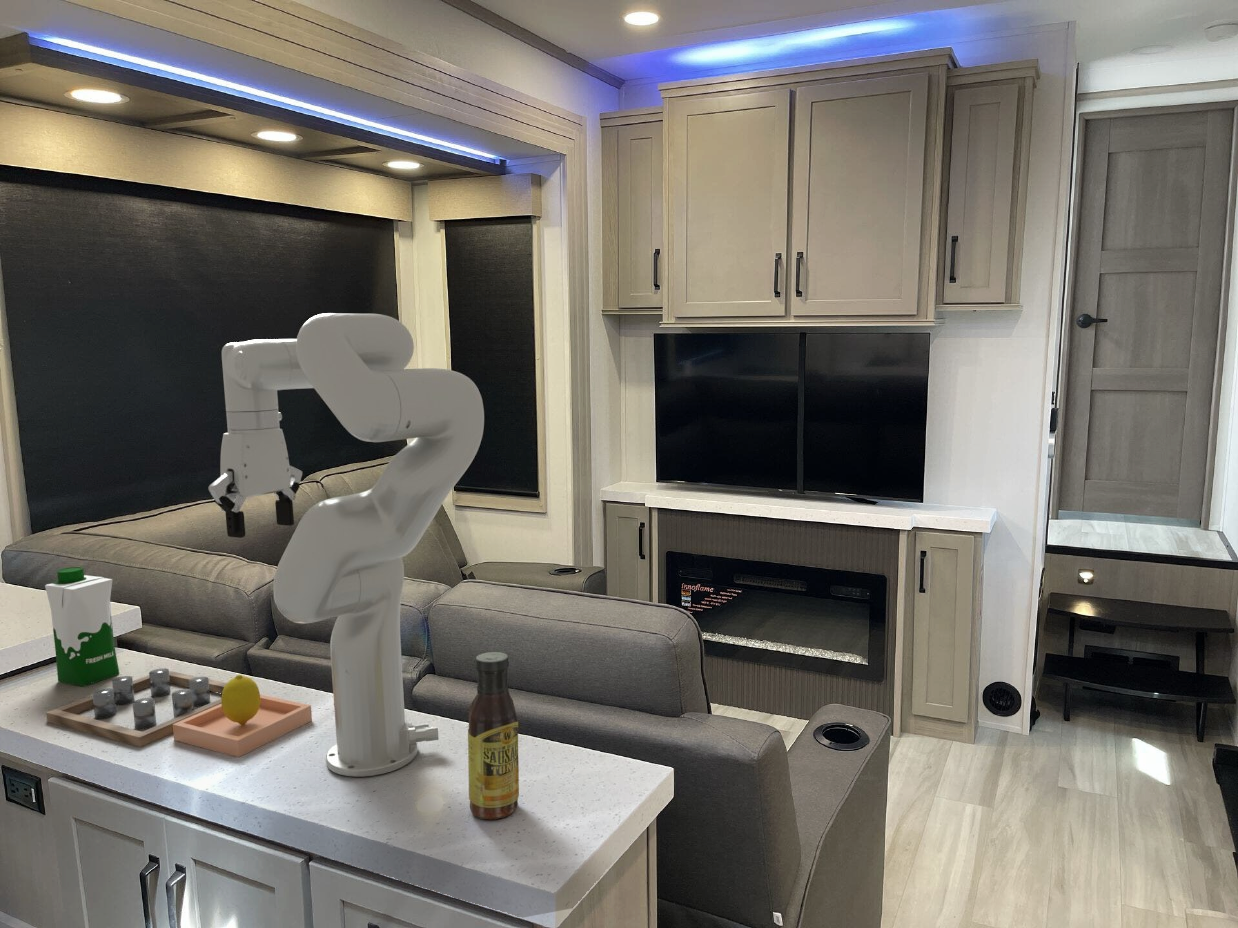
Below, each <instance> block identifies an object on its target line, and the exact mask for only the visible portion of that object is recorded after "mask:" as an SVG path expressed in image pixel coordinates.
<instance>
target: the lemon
mask: <svg viewBox="0 0 1238 928" xmlns="http://www.w3.org/2000/svg"><path fill="white" fill-rule="evenodd" d="M226 683H227V684H226V685H225V687H224V689H223V692H222V695H221V697H220V699H221V705H222V709H223V712H224V714H225V716H226V717H227V718H228V719H229V720H231V721H233V722H238V723H239V724H240V725H245V724H246V723H247V721H248V720H250V719H252V718H253V717H254V716H255V715H256V713H257V712H258V710H259V707H260V695H261V694H260V693H261V692H260V689H259V687H258V684H257V683H256V681H254V679H252V678H250V677H248V676H243V675H242V674H237V675H236V676H235V677H233V678H231V679H229V681H228V682H226Z"/></svg>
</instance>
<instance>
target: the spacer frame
mask: <svg viewBox="0 0 1238 928" xmlns="http://www.w3.org/2000/svg"><path fill="white" fill-rule="evenodd" d="M196 677H197V676H196V675H190V674H187V673H186V674H185V673H182V672H176V671H173V670H169V679H170V685H177V686H180V685H181V687H185V688H189V680H190V679H193V678H196ZM208 680H209V691H212V692H218V693H221V694H222V692H223V689H224V687H225V685H226V684H227V683H228V682H224V681H221V680H215V679H210V678H208ZM147 688H151V687H150V677H149V674H147V675H145V676H142V677H140V678H138V679H134V680H133V689H134V693H136V692H139V691H142V690H145V689H147ZM112 689H113V687H112ZM212 692H211V693H212ZM221 694H220V695H221ZM219 704H221V698H220V699H216V700H214V701H212V702H210V703H208V704H206V705H203V706H199V707H197V708H194V710H193V711H190V712H188V713H186V714H183V715H181V716H179V717H176V718H174V717H173V718H172V719H169V720H167V721H164V722H162V723H160V724H158V725H157V724H156V725H155V726H154V727H151V728H148V729H144V730H143V731H140V730H138V729H133V728H129V727H124V726H120V725H118V724H114V723H110V722H107V721H106V722H105V721H102V720H100V719H96V718H90V717H88V716H87V717H86V716H83V715H79V714H80V713H83V712H85V711H88V710H91V709H94V704H93V695H91V696H87V697H85V698H82V699H80V700H77V701H74V702H71V703H68V704H66V705H64V706H63V705H62V706H60V707H57V708H55V709H52V710H49V711H46V712H45V714H46V722H47V723H52V724H55V725H59V726H63V727H65V728H69V729H74V730H76V731H80V732H85V733H88V734H92V735H95V736H99V737H102V738H105V739H110V740H114V741H117V742H120V743H121V742H122V743H124V744H128V745H132V746H136V747H139V748H142V747H144V746H146V745H148V743H149V744H151V743H153V742H155V741H158V740H160V739H162V738H164V737H166V736H169V735H171V734H173V724H175V723H177V722H179V721H182V720H184V719H186V718H189V717H191V716H193V715H196V714H198V713H200V712H203V711H205V710H207V709H210V708H212V707H214V706H217V705H219ZM143 745H144V746H143Z"/></svg>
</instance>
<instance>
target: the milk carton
mask: <svg viewBox="0 0 1238 928" xmlns="http://www.w3.org/2000/svg"><path fill="white" fill-rule="evenodd" d="M56 572H57V581H55V582H51V583H47V584H45V585H44V587H45V591H46V595H47V598H48V603H49V607H50V611H51V612H50V613H51V622H52V631H53V642H54V648H55V649H54V651H55V658H56V659H55V660H56V670H57V671H56V672H57V681H58V682H59V681H60V682H61V683H64V684H69V685H73V686H77V687H87V686H88V685H92V684H96V683H98V682H101V681H103V680H106V679H109V678H111V677H114V676H117V675H120V668H119V663H118V658H117V653H116V652H117V651H116V648H115V638H114V630H113V627H114V626H113V617H112V609H111V593H112V586H113V578H106V577H103V576H94V575H87V574H86V575H85V572H84V568H83V567H81V566H76V567H75V566H71V567H66V568H62V569H59V570H56ZM60 682H59V683H60Z"/></svg>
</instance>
